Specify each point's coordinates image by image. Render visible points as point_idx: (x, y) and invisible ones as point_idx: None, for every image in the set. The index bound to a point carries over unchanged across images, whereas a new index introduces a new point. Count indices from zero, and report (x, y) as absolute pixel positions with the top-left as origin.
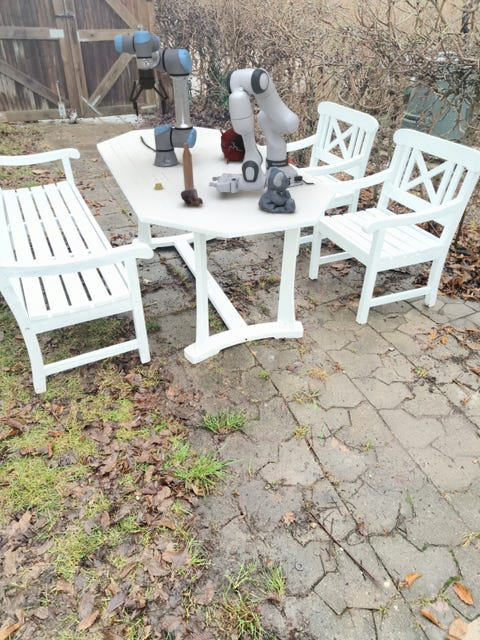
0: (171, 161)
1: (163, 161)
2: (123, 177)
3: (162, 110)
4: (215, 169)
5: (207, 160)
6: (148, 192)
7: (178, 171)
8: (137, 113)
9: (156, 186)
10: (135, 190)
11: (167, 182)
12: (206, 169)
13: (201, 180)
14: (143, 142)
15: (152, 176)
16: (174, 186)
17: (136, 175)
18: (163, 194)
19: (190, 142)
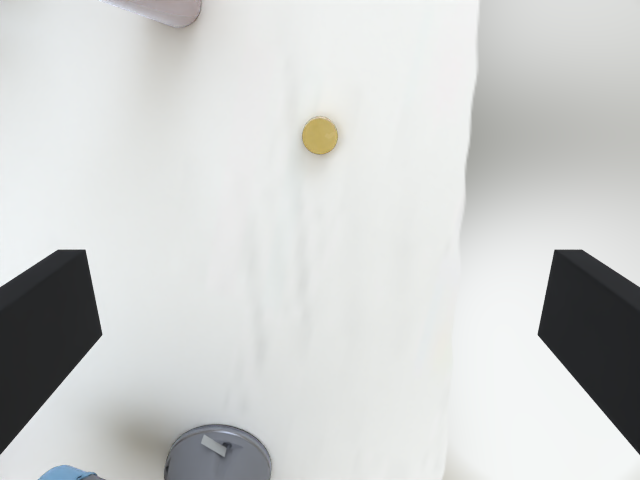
0: (196, 442)
1: (233, 451)
2: (439, 350)
3: (62, 341)
4: None
5: (32, 451)
6: (383, 90)
7: (184, 350)
8: (603, 272)
9: (333, 124)
10: (435, 147)
11: (261, 212)
12: None
13: (89, 181)
14: None
15: (313, 321)
16: (238, 137)
17: (378, 358)
18: (316, 25)
19: (48, 476)
